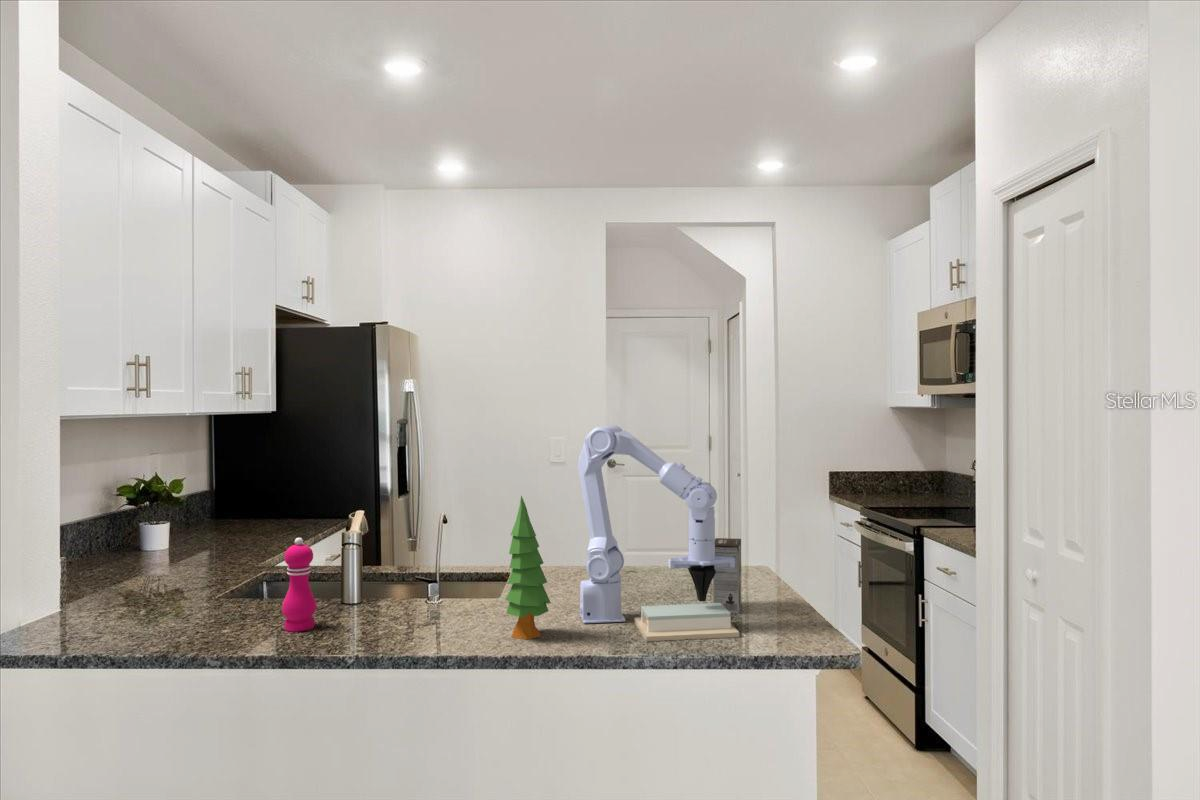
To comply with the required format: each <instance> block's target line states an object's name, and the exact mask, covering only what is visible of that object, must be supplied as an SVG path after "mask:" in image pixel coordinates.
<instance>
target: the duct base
mask: <svg viewBox="0 0 1200 800" xmlns="http://www.w3.org/2000/svg"><path fill="white" fill-rule="evenodd" d="M640 611H641V613H640V616H639V617H634V620H633V621H634V624H635V625H636V627H637V629H638V628H639V629H638V631H639V632H640V633H641V635H642V637H643V639H644V640H645V641H646V642H664V641H665V640H666V641H684V640H686V639H688V640H704V639H705V640H706V639H708V640H709V639H726V638H728V639H729V638H740V631H739V630H738V629H737V628H736V627H734V625H732V623H731V617H715V618H692V619H669V620H648V619H647V618H646V616H645V615H644V613H643V612H642V610H640Z"/></svg>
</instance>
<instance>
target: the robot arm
mask: <svg viewBox="0 0 1200 800" xmlns="http://www.w3.org/2000/svg"><path fill="white" fill-rule="evenodd" d="M613 455H623V456H624V455H625V456H630V457H631V458H633V459H635V460H636V461H637V462H639V463H640V464H642V465H643V466H645V467H646V468H648V469H650V470H651V471H653V472H654V473H656V474H657V475H658V478H659V483H660V484H661V485H663V486H664V487H665V488H666V489H668V490H669V491H671V492H672V493H673V494H675V495H676V496H678V497H679V498H680V499H682V500H685V503H686V506H687V507H688V509H689V510H688V512H689V516H688V556H684V557H683V556H682V557H673V558H668V561H667V562H668V565H667V566H668V569H670V570H675V569H687V571H688V572H689V574H690V577H691V580H692V582H693V584H694V588H695V592H696V600H698V601H699V602H706V601H707V596H708V592H709V589H710V586H711V583H712V582H713V577H714V576H715V573H716V570H715V569H714V567H735V558H733V557H719V556H715V538H716V518H715V506H714V505H715V504H716V501H717V499H718V494H717V490H716V489H715V487H714V486H712V483H709V482H707V481H703V478H702V477H700V476H698V477H696V476H695V475H694V474H693V473H691V472H689V470H687V469H685V467H686V465H685V464H684V463H682V462H680V463H679V464H678V463H677V462H675V461H672V462H667V461H665V460H664V459H663V458H661V457H660V456H659V455H658V454H656V453H655V452H654V451H653V450H652V449H650V448H649V447H647V445H645V444H644V443H643V442H641V441H640V439H638V438H636V437H635V436H633V434H631V433H630V432H628V431H626V430H623V429H622V428H621V427H620V426H619V425H616V424H610V425H606V426H597V427H595V428H593V429H591V430H590V432H589V433H588V434H587V435H586V436H585V437H584V438H583V446H582V450H581V452H580V455H579V458H578V461H577V468H578V474H579V480H580V486H581V487H580V488H581V492H582V498H583V505H584V510H585V516H586V523H587V529H588V534H589V536H588V537H589V541H588V542H589V543H588V546H587V561H586V563H585V565H586V566H585V568H586V573H587V575H588V576H589V579H587V580H584V579H583V580H581V581H580V583H579V584H580V587H579V593H580V594H579V600H580V601H579V615H580V617H581V620H582V622H583V624H601V623H605V624H606V623H622V622H626V617H625V616H624V615H623V613H622V576H621V573H620V571H621V570H622V568H624V564H625V559H624V554H623V553H622V551H621V550H620V548H619V545H618V541H617V540H616V538H615V537H614V535H613V530H612V525H611V517H610V513H609V507H608V506H609V505H608V500H607V496H606V495H607V494H606V488H605V482H604V475H603V470H602V468H603V466H604V465H605V464H606V463H607V461H608V460H609V459H610V457H612V456H613Z"/></svg>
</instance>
